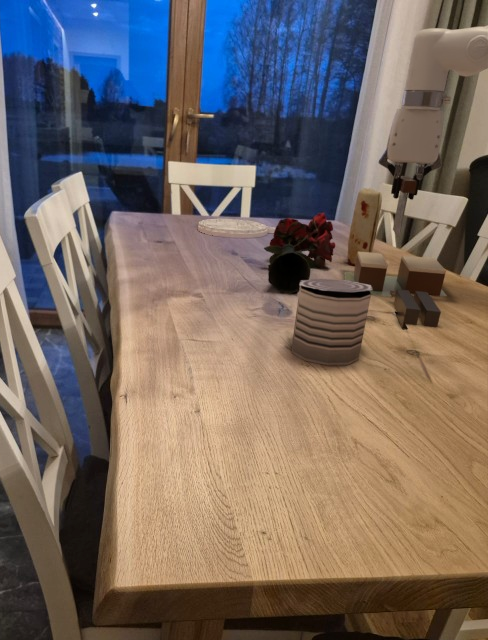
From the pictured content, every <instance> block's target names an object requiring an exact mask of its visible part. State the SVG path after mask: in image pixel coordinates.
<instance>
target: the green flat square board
mask: <svg viewBox="0 0 488 640" xmlns="http://www.w3.org/2000/svg"><path fill="white" fill-rule="evenodd" d="M343 274H344V278H345V280H347V281H353V282H355V280H354V276H353V275H354V272H349V271H344V273H343ZM397 289H399V290H402V289H401V287H400V285H399V283H398V281H397V276H391V275H386V276H385V281H384V286H383V291H382V292H381V291H370V290H369V291H370V293H371V296H379V297H389V298H393V297H394V296H393V294H392V292H396V291H397ZM440 296H442V297H447V296H448V295H447V293H446V292H444V290H443V288H442V289H441V293H440Z"/></svg>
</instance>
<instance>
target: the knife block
mask: <svg viewBox="0 0 488 640" xmlns="http://www.w3.org/2000/svg"><path fill="white" fill-rule="evenodd" d="M393 306H394V308H395V311H394V313H395V315H396V318H397V319H398V322H399V324H400V326H401V328H402V329H404V330H405V329H406V330H408V326H407V325H412V326H413V325H414V326H416V325H418V321H419V320H420V322H421V324H422V325H423V326H424V327H434V328H438V325H439V322H440V319H441V313H442V311H441V310H440V308H439V306H438V305H437V304H436V302H435V301H434V300H433V298H432V296H431V295H429V294H428V292H420V291H415V294H411V293H410V291H409V290H399V289H397V291H395V296H394V301H393Z"/></svg>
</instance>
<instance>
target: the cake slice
mask: <svg viewBox="0 0 488 640" xmlns="http://www.w3.org/2000/svg"><path fill="white" fill-rule="evenodd" d="M388 267H389V266H388V263H387V261H386V259H385V258H384V255H383V254H382V253H381V252H380V253H379V252H372V253H369V252H358V253H357V259H356V264H355V266H354V270H353V273H354V275H353V276H354V280H355V282H358V283H363V284H368V285H371V287H372V289H373V290H370V291H381V292H382V291H383V286H384V281H385V276H387V270H388Z"/></svg>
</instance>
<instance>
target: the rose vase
mask: <svg viewBox="0 0 488 640" xmlns="http://www.w3.org/2000/svg"><path fill="white" fill-rule="evenodd" d="M327 219H328V217H326V214H325V212H322V213H321V212H318V213H317V215H314V216H313V217H312V219H310V221H309V222H308V224H306V223H302V222H300V221H299V219H296V218H289V217H286V218H281V219H279V221H278V223H277V225H276V227H275V228H276V229H275V231H274V233H273V235H272V238H271V239H270V241H269V245H268V246H265V247H263V249H264V250H265V252H267V253H271V254H272V255H270V257H269V258H268V260H269V264H268V266H267V268H268V269H267V270H268V271H267V272H268V273H267V275H268V277H267V281H268V283H269V284H270V285H272V286H273V288H274V289H275V290H277V291H278V292H280V293H284V294H293V293H296V292H299V290H300V281H301V280H310V276H311V268H313V269H322V268H323V267H325V265H326V261H328V262H329V263H333V257H332V256H334V249H335V248H336V243H335V242H334V241H332V240H333V239H334V237H333V234H332V232H333V231H334V226H333V222H332V221H330V220H328V221H327ZM331 241H332V242H331ZM307 251H308V254H305V253H303V252H307Z"/></svg>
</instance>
